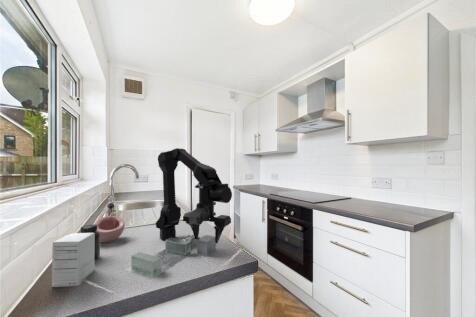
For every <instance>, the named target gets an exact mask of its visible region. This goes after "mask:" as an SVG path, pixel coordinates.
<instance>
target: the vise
mask: <svg viewBox="0 0 476 317" xmlns="http://www.w3.org/2000/svg"><path fill="white" fill-rule="evenodd" d="M194 253H195V251H193V250H191V252H190V253H189V254H187V255H182V254H178V253H174V252H170V251H166V250H165V249H162V250H161V251H159V252H157V253H155V254H154V255H152V254H148V253H145V252H140V251H139V252H137V253H135V254H132V255H131V256H130V258H131V259H130V261H131V262H130V263H131V265H130V266H129V267H128V268H126V269H124V270H125V271H127V272H129V273H133V274H135V275H138V276H141V277H144V278H147V279H150V280H153V279H154V278H156V277H158V276H159V275H161V274H162V273H165V271H167V270H169V269H170V268H172V267H174V266H175V265H177V264H179V263H180V262H182V261H183V260H184V259H186V258H189V256H190V255H193V254H194Z"/></svg>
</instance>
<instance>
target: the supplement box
mask: <svg viewBox="0 0 476 317" xmlns="http://www.w3.org/2000/svg"><path fill="white" fill-rule="evenodd" d="M94 254H95V233H80V232H74V233H69V234H68V235H65V236H63V237H61V238H59V239H57V240H55V241H52V254H51V255H52V256H51V257H52V259H51V287H52V288H59V287H60V288H61V287H78V286H80V285H81V284H82V283H84V281H86V279H87V277H88V276H89V275H90V274H92V273H93V272H94V271H95V261H94Z"/></svg>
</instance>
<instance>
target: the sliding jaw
mask: <svg viewBox="0 0 476 317" xmlns="http://www.w3.org/2000/svg"><path fill="white" fill-rule="evenodd" d="M200 238H201V237H200V236H198V239H200ZM198 239H197V240H198ZM197 240H196V239H195V237H194V234H192V235H190V234H189V235H187V237H186V238H183V239H180V238H177V237H176V238H172V237H171V238H169V239H166V241H165V246H164V247H165V248H164V250H166V251H170V252H174V253H178V254H182V255H187V254H189V253H190V252H191V251H192V243H193V242H194V241H197Z"/></svg>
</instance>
